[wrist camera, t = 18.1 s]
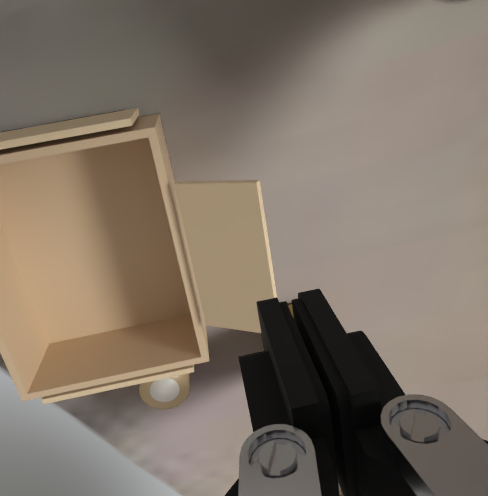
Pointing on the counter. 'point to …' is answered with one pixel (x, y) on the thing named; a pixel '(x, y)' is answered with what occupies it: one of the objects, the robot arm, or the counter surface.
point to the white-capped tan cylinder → (165, 391)
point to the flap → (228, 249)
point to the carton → (94, 259)
